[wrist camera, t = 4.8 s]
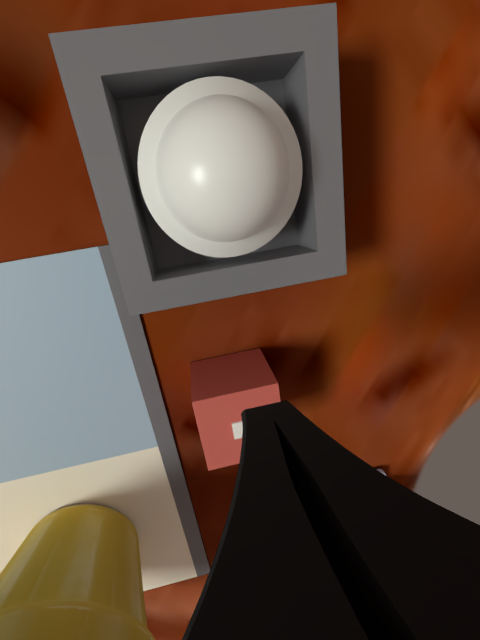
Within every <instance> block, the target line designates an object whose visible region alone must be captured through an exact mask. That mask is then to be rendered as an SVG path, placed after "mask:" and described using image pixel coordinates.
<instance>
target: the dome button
mask: <svg viewBox="0 0 480 640" xmlns="http://www.w3.org/2000/svg"><path fill="white" fill-rule="evenodd" d="M137 164H138V177H139V183H140V188H141V191H142V195H143V198H144V200H145V203H146V205H147V207H148V210H149V211H150V213H151V215H152V216H153V218H154V220H155V221H156V222H157V224H158V225H159V226H160V227H161V229H162V230H163V231H164V232H165V233H166V234H167V235H168V236H169V237H170V238H172V239H173V240H174V241H176V242H177V243H178V244H180V245H181V246H183V247H185V248H186V249H189V250H191V251H193V252H195V253H198V254H202V255H205V256H211V257H223V258H227V257H236V256H240V255H244V254H247V253H250V252H252V251H255V250H256V249H258V248H260V247H262V246H264V245H265V244H266V243H268V242H269V241H270V240H272V239H273V238H274V237H275V236H276V235H277V234H278V233H279V232H280V231H281V229H282V228H283V227H284V226H285V225H286V223H287V221H288V220H289V218H290V217H291V215H292V213H293V211H294V208H295V206H296V204H297V201H298V198H299V194H300V189H301V184H302V174H303V173H302V157H301V150H300V146H299V142H298V139H297V136H296V133H295V131H294V128H293V126H292V125H291V123H290V121H289V119H288V117H287V116H286V114H285V113H284V112H283V110H282V109H281V107H280V106H279V105H278V104H277V103H276V102H275V101H274V100H273V99H272V98H271V97H270V96H268V95H267V94H266V93H265V92H264V91H262V90H260V89H259V88H257V87H256V86H254V85H252V84H250V83H247V82H245V81H243V80H239V79H235V78H232V77H223V76H212V77H204V78H199V79H195V80H193V81H190V82H187V83H185V84H183V85H181V86H180V87H178V88H176V89H175V90H173V91H172V92H171V93H170V94H168V95H167V96H166V97H165V98H164V99H163V100H162V101H161V102H160V103H159V104H158V105H157V107H156V108H155V110H154V111H153V113H152V114H151V115H150V117H149V119H148V121H147V123H146V125H145V128H144V131H143V133H142V136H141V140H140V145H139V150H138V163H137Z"/></svg>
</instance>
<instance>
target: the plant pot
mask: <svg viewBox="0 0 480 640" xmlns="http://www.w3.org/2000/svg"><path fill="white" fill-rule="evenodd" d="M0 640H155V638H154V637H153V635H152V634H151V632H150V631H149V630H148V629H147V622H146V613H145V603H144V593H143V583H142V573H141V562H140V551H139V539H138V534H137V531H136V528H135V527H134V525H133V524H132V522H131V521H130V520H129V519H128V518H127V517H126V516H125V515H123V514H122V513H120V512H118V511H117V510H114V509H112V508H109V507H106V506H102V505H96V504H79V505H73V506H68V507H64V508H61V509H58V510H56V511H54V512H52V513H50V514H48V515H47V516H45V517H44V518H43V519H41V520H40V521H39V522H38V523H37V524H36V525H35V526H34V527H33V528H32V530H31V531H30V533H29V534H28V535H27V537H26V538H25V540H24V541H23V542H22V544H21V545H20V547H19V548H18V550H17V551H16V552H15V554H14V555H13V557H12V558H11V559H10V561H9V562H8V564H7V565H6V566H5V568H4V569H3V571H2V572H1V573H0Z"/></svg>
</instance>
